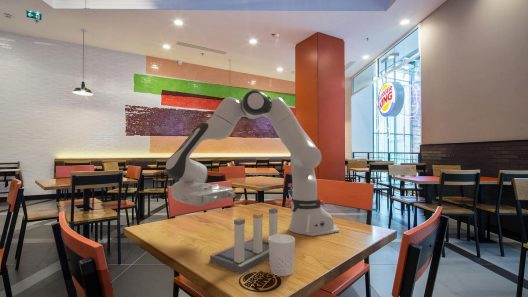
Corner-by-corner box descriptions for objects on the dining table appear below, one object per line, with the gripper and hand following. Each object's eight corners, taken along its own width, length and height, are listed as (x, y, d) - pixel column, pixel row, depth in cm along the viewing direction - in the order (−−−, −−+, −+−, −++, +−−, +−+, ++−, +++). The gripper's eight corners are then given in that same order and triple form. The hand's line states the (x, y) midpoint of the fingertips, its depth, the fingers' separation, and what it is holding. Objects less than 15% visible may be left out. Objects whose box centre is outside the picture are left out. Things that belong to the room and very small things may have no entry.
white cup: (279, 280, 73) (279, 244, 73) (263, 270, 79) (263, 237, 79) (300, 273, 77) (300, 239, 77) (283, 263, 84) (283, 232, 84)
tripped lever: (252, 252, 86) (252, 214, 87) (257, 249, 89) (257, 212, 89) (257, 253, 85) (258, 215, 85) (262, 251, 87) (262, 213, 87)
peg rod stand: (210, 261, 85) (210, 215, 85) (253, 242, 102) (253, 204, 102) (240, 273, 77) (241, 222, 77) (281, 250, 94) (282, 209, 94)
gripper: (177, 190, 97) (202, 193, 88) (218, 183, 113) (242, 185, 105) (178, 207, 97) (202, 211, 88) (219, 198, 113) (242, 201, 105)
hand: (224, 197), depth 97 cm, fingers open, 8 cm apart
